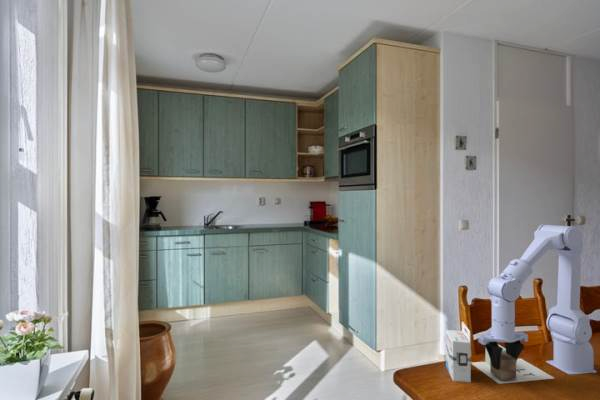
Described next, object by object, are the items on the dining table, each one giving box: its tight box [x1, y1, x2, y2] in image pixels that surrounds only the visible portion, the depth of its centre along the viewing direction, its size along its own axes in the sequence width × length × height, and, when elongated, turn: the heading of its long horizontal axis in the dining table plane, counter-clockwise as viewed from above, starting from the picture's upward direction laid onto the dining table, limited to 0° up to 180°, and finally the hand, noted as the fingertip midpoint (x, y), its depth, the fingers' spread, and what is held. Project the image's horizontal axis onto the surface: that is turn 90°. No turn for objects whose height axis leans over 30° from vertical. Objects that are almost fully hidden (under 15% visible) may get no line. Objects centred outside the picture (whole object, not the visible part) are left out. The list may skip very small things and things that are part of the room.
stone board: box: [471, 357, 555, 385], centre depth 99 cm, size 18×12×1 cm, turn 99°
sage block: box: [484, 343, 506, 365], centre depth 101 cm, size 4×4×6 cm
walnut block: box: [490, 352, 516, 380], centre depth 95 cm, size 4×4×6 cm
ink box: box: [445, 321, 472, 383], centre depth 97 cm, size 9×5×15 cm, turn 168°
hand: (503, 367), depth 95 cm, fingers closed on walnut block, 4 cm apart
